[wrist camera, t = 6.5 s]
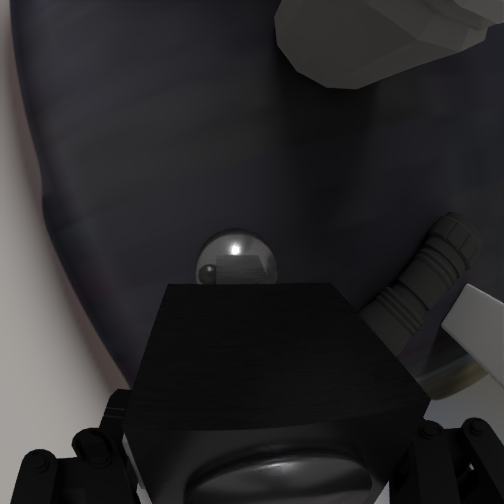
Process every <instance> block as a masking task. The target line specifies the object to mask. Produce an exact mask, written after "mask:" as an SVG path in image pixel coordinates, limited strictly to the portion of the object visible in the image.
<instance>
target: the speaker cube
mask: <svg viewBox="0 0 504 504" xmlns="http://www.w3.org/2000/svg"><path fill="white" fill-rule="evenodd" d="M430 401H431V399H430V397H429V396H428V395H427V394H426V393H425V391H424V390H423V389H422V388H421V386H420V385H419V384H418V383H417V382H416V380H415V379H414V378H413V377H412V376H411V374H410V373H409V372H408V371H407V370H406V369H405V367H404V366H403V365H402V364H401V363H400V361H399V360H398V359H397V358H396V357H395V355H394V354H393V353H392V352H391V351H390V350H389V348H388V347H387V346H386V345H385V344H384V343H383V341H382V340H381V339H380V338H379V337H378V336H377V335H376V333H375V332H374V331H373V330H372V329H371V328H370V326H369V325H368V324H367V323H366V322H365V321H364V320H363V318H362V317H361V316H360V315H359V314H358V313H357V312H356V310H355V309H354V308H353V307H352V306H351V305H350V304H349V303H348V301H347V300H346V299H345V298H344V297H343V296H342V295H341V294H340V292H339V291H338V290H337V289H336V288H335V287H334V286H333V285H332V284H331V283H290V284H168V285H167V288H166V291H165V294H164V296H163V299H162V302H161V305H160V308H159V311H158V313H157V316H156V319H155V322H154V325H153V328H152V331H151V334H150V337H149V340H148V343H147V346H146V349H145V352H144V355H143V358H142V361H141V364H140V367H139V371H138V374H137V377H136V380H135V384H134V387H133V390H132V393H131V397H130V400H129V404H128V407H127V410H126V414H125V418H124V421H123V425H122V427H123V430H124V433H125V436H126V439H127V442H128V445H129V447H130V450H131V453H132V456H133V458H134V461H135V464H136V466H137V469H138V471H139V474H140V476H141V479H142V481H143V483H144V486H145V488H146V491H147V493H148V495H149V497H150V499H151V502H152V504H374V502H375V501H376V499H377V498H378V496H379V495H380V493H381V492H382V490H383V489H384V487H385V486H386V484H387V482H388V481H389V479H390V478H391V476H392V474H393V473H394V471H395V469H396V468H397V466H398V464H399V462H400V461H401V459H402V457H403V455H404V453H405V452H406V450H407V448H408V446H409V444H410V442H411V440H412V439H413V437H414V435H415V433H416V431H417V429H418V427H419V425H420V423H421V420H422V418H423V416H424V414H425V412H426V409H427V408H428V405H429V403H430Z"/></svg>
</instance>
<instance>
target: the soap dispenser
mask: <svg viewBox="0 0 504 504" xmlns="http://www.w3.org/2000/svg"><path fill="white" fill-rule="evenodd" d="M441 327H442V328H443V329H444V330H445V331H446V332H447V333H448V334H449V335H450V336H451V337H452V338H453V339H455V340H456V341H457V342H458V343H459V344H460V345H461V346H462V347H463V348H464V349H465V350H466V351H467V352H468V353H469V354H470V355H471V356H472V357H473V358H474V359H475V360H476V361H477V362H478V363H479V364H480V365H481V366H482V367H483V368H484V369H485V370H486V371H487V372H488V373H489V374H490V375H491V377H492V378H494V380H495V381H496V382H497V383H498V384H499V385H500V386H501V387H502V388H503V389H504V303H502V302H500V301H498V300H497V299H495V298H493V297H491V296H490V295H488V294H486V293H484V292H483V291H481V290H479V289H477V288H475V287H474V286H472V285H470V284H466V285H465V286H464V288H463V290H462V292H461V293H460V295H459V297H458V298H457V300H456V302H455V303H454V305H453V306H452V308H451V310H450V311H449V313H448V314H447V316H446V317H445V319H444V320H443V322H442V324H441Z"/></svg>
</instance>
